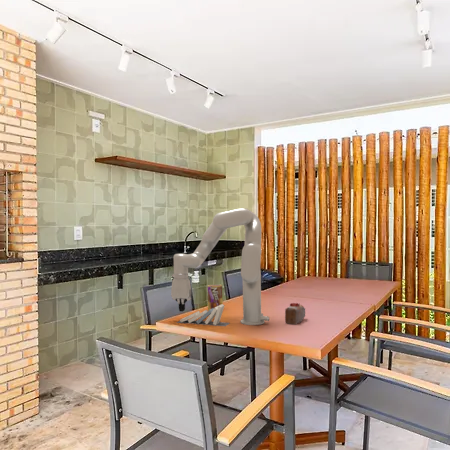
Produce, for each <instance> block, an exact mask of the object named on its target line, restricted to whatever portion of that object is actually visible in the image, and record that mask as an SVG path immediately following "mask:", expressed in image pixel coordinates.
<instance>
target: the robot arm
mask: <svg viewBox="0 0 450 450" xmlns="http://www.w3.org/2000/svg"><path fill="white" fill-rule="evenodd" d="M239 226H244V230H245V233H244V246H243V247H242V251H241V266H240V276H241V278H242V310H243V311H242V314H243V316H242V317H243V318H242V319H241V320H240V324H242V325H246V326H261V325H263V324H265V322H266V321H267V322H269V321H270V316H266V315H264V313H263V312H262V286H261V285H262V279H261V278H262V275H261V273H262V270H261V259H262V257H261V256H262V224H261V221H260V219H259V217H258V216H257V214H256V213H254V212H253V211H252V210H250V209H248V208H244V207H241V208H237V209H231V210H227V211H220V212H217V213H216V214H215V215H214V216H213V219H212V221H211V223H210V225H209V226H208V227H207V229H206V230H205V232H204V233H203V235H202V237H201V241H200V243H199V244H198V246H196V249H195V250H194V251H193V253H188V254H187V253H175V254H174V255H173V274H172V275H171V277H173V279H172V281H171V288H170V289H171V291H170V292H171V293H170V294H171V295H170V296H171V299H172V300H173V301H176V302H177V304H178V311H179V312H184V311H185V310H186V303H187V302H188V301H192V285H191V281H190V278H189V268H191V269H192V268H193V269H195V268H198V267H200V266H201V265H202V264H204V262H205V260H206V259H207V258H208V256H209V255H210V254H211V252H212V250H213V249H214V248H215V247H216V245H217V244H218V242H219V241H220V239H221V238H222V236H224V234H225V232H226V231H227V230H228V229H230V228H234V227H239Z"/></svg>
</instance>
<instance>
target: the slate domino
mask: <svg viewBox="0 0 450 450" xmlns="http://www.w3.org/2000/svg"><path fill="white" fill-rule="evenodd" d="M213 309H214V308H212V309H210V310H209V311H208V310H207V311H208V312H207V313H205V314H204V315H203V316H201V317H199V318H198V319H196V320H197V321H196V322H197V323H198V324H197V325H200V324H199V323H201V322H202V321H205V319H206V320H207V318H208V317H209V315H210V314H211V312H212V311H213Z"/></svg>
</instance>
